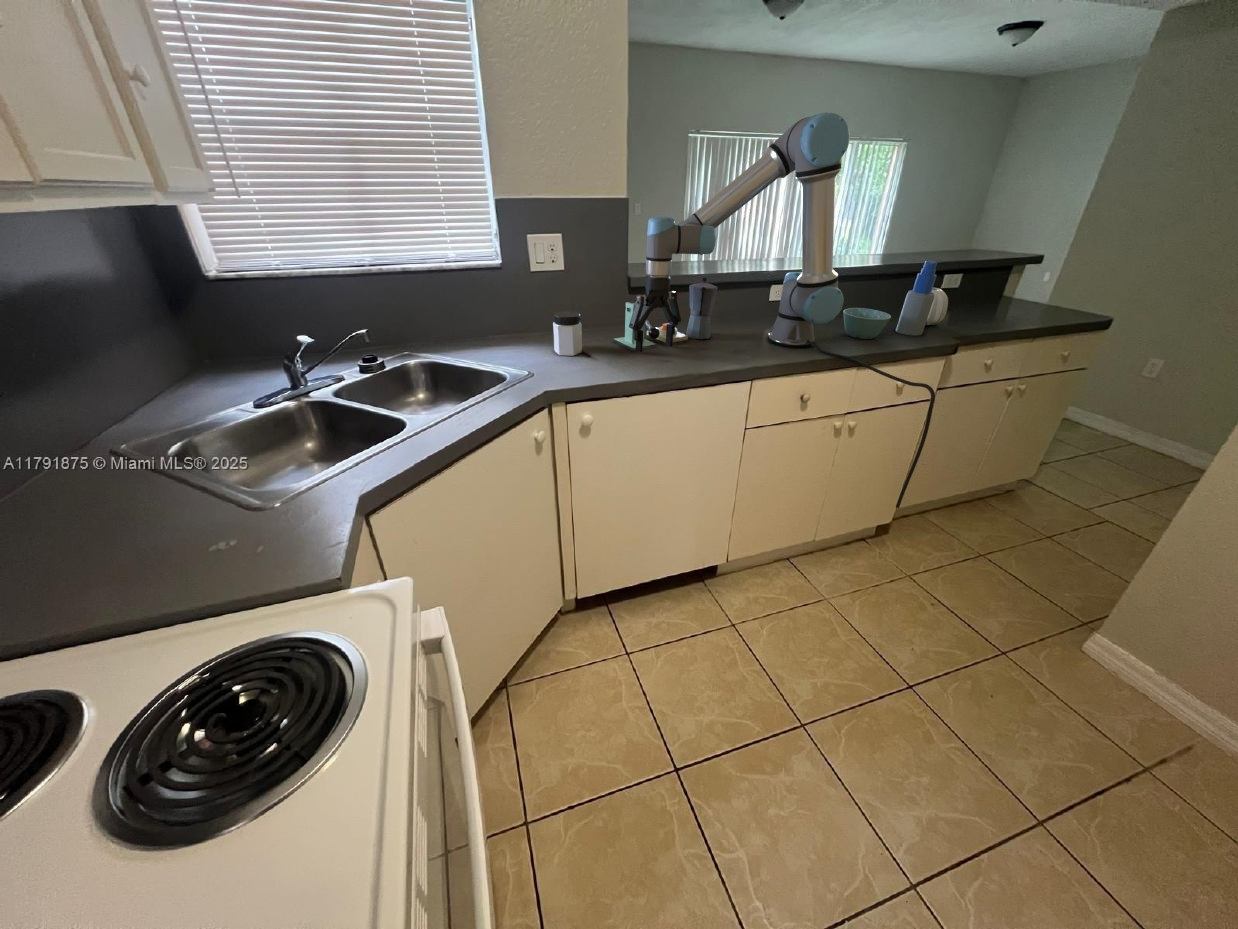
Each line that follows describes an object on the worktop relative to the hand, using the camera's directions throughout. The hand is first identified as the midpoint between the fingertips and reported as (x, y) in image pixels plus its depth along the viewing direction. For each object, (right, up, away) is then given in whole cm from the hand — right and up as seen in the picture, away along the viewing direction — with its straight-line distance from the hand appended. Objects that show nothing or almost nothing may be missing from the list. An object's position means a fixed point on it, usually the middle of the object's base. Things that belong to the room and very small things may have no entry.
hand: (654, 347), depth 155 cm
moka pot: (+17, +8, +18) cm, 26 cm away
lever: (-3, +8, +2) cm, 9 cm away
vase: (+111, +20, +41) cm, 120 cm away
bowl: (+78, +10, +23) cm, 82 cm away
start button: (+6, +9, +12) cm, 17 cm away
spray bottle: (+99, +13, +29) cm, 104 cm away
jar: (-28, -1, +1) cm, 28 cm away
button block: (+5, +6, +14) cm, 17 cm away
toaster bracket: (-6, +3, +9) cm, 11 cm away
